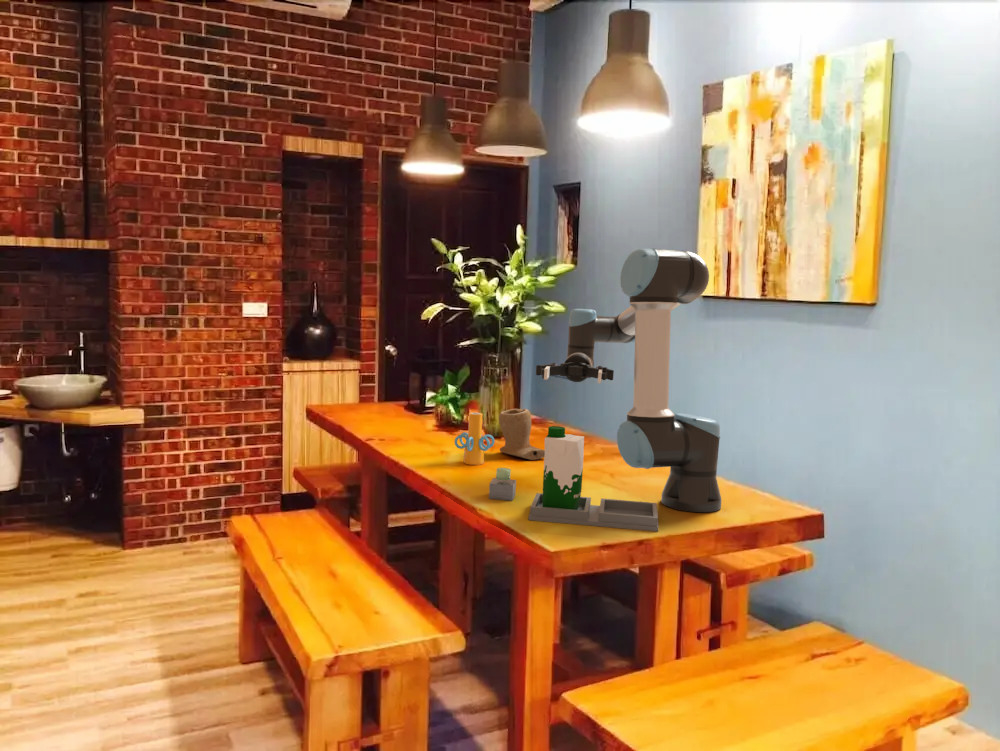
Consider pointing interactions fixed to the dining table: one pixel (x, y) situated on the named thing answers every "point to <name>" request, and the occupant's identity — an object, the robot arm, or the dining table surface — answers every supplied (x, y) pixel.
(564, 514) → the pocket tray
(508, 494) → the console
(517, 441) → the brown boot
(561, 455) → the soya milk
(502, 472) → the button
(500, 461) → the dining table surface
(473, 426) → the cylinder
